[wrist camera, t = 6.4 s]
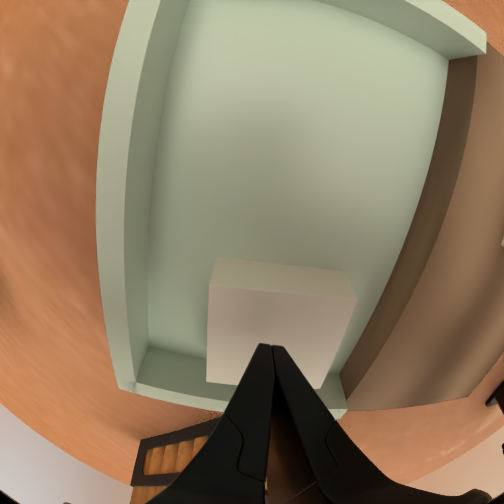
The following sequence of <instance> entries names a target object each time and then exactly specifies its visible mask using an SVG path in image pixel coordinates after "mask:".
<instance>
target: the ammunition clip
mask: <svg viewBox="0 0 504 504" xmlns="http://www.w3.org/2000/svg"><path fill="white" fill-rule="evenodd" d="M220 418H221V417H218V418H216V419H213V420H210V421H207V422H204V423H201V424H197V425H194V426H191V427H188V428H184V429H181V430H177V431H174V432H170V433H167V434H163V435H159V436H155V437H151V438H147V439H142V440H141V441H140V445H139V449H138V454H137V458H136V462H135V466H134V471H133V475H132V480H131V484H130V485H131V486H132V487H133V492H132V496H131V501H130V504H144V503H146V502H147V501H149V500H150V499H151V498H153V497H154V496H155V495H157V494H158V493H159V492H161V491H162V490H163V489H165V488H166V487H167V486H168V485H169V484H170V483H171V482H172V481H173V480H174V479H175V478H176V477H177V476H178V475H179V474H180V473H181V472H182V470H183V469H184V468H185V467H186V466H187V464H188V463H189V462H190V461H191V460H192V458H193V457H194V456H195V455H196V454H197V452H198V451H199V450H200V449H201V447H202V446H203V445H204V443H205V442H206V441H207V439H208V438H209V437H210V435H211V434H212V432H213V430H214V429H215V427H216V425H217V424H218V422H219V420H220Z"/></svg>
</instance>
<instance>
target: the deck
mask: <svg viewBox="0 0 504 504" xmlns="http://www.w3.org/2000/svg"><path fill="white" fill-rule="evenodd" d="M503 237H504V56H503V55H501V54H500V53H499V52H498V51H497V50H496V49H495V48H494V47H492V46H491V45H490V44H489V43H488V42H487V41H486V54H482V55H475V56H468V57H462V58H457V59H452V60H449V64H448V73H447V81H446V88H445V95H444V101H443V107H442V113H441V118H440V123H439V128H438V132H437V137H436V141H435V146H434V150H433V154H432V158H431V162H430V165H429V169H428V173H427V176H426V180H425V183H424V186H423V190H422V193H421V196H420V199H419V202H418V205H417V208H416V211H415V214H414V217H413V220H412V223H411V225H410V228H409V231H408V234H407V236H406V239H405V242H404V244H403V247H402V249H401V252H400V254H399V257H398V259H397V261H396V264H395V266H394V268H393V271H392V273H391V275H390V278H389V280H388V282H387V284H386V287H385V289H384V291H383V293H382V295H381V297H380V299H379V301H378V304H377V306H376V308H375V310H374V312H373V314H372V316H371V318H370V320H369V321H368V323H367V325H366V327H365V329H364V331H363V333H362V335H361V337H360V338H359V340H358V342H357V344H356V346H355V347H354V349H353V351H352V353H351V355H350V356H349V358H348V360H347V361H346V363H345V365H344V366H343V368H342V370H341V371H340V373H339V376H340V379H341V383H342V387H343V391H344V394H345V398H346V402H347V406H348V410H347V411H369V410H384V409H395V408H404V407H413V406H420V405H427V404H433V403H439V402H445V401H450V400H455V399H460V398H465V397H468V396H469V395H470V394H471V393H472V391H473V390H474V389H475V388H476V387H477V386H478V384H479V383H480V382H481V381H482V380H483V378H484V377H485V376H486V375H487V373H488V372H489V371H490V370H491V368H492V367H493V366H494V364H495V363H496V362H497V360H498V359H499V358H500V356H501V355H502V353H503V352H504V247H503V246H502V245H501V242H502V240H503Z"/></svg>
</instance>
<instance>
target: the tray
mask: <svg viewBox="0 0 504 504" xmlns="http://www.w3.org/2000/svg"><path fill="white" fill-rule="evenodd" d="M482 54H486V32H485V31H483V30H482V29H481V28H480V27H478V26H477V25H476V24H475V23H473V22H472V21H471V20H469V19H468V18H467V17H465V16H464V15H463V14H461V13H460V12H458V11H457V10H455V9H454V8H453V7H451V6H450V5H448V4H447V3H445V2H443V1H442V0H129V3H128V6H127V9H126V12H125V15H124V18H123V21H122V25H121V28H120V32H119V35H118V39H117V43H116V46H115V50H114V54H113V59H112V63H111V67H110V72H109V77H108V82H107V88H106V93H105V99H104V105H103V112H102V120H101V128H100V137H99V147H98V160H97V178H96V240H97V258H98V271H99V282H100V291H101V300H102V307H103V314H104V321H105V327H106V333H107V339H108V344H109V349H110V354H111V359H112V364H113V368H114V373H115V377H116V381H117V385H118V388H119V389H122V390H125V391H128V392H132V393H135V394H139V395H143V396H146V397H150V398H154V399H158V400H162V401H167V402H171V403H176V404H180V405H185V406H190V407H195V408H201V409H207V410H213V411H219V412H224V411H225V409H226V407H227V405H228V403H229V401H230V399H231V397H232V395H233V393H234V391H235V390H236V388H237V386H238V385H230V384H221V383H212V382H206V370H207V325H208V298H209V284H210V280H211V276H212V272H213V269H214V265H215V261H216V258H217V257H222V258H231V259H240V260H249V261H258V262H267V263H276V264H285V265H295V266H304V267H313V268H323V269H333V270H342V271H344V273H345V275H346V277H347V279H348V281H349V283H350V285H351V287H352V288H353V290H354V292H355V294H356V296H357V298H358V300H357V303H356V306H355V308H354V311H353V314H352V316H351V319H350V321H349V324H348V326H347V329H346V331H345V334H344V336H343V339H342V341H341V344H340V346H339V348H338V351H337V353H336V355H335V358H334V360H333V362H332V364H331V366H330V369H329V371H328V373H327V375H326V377H325V379H324V382H323V384H322V386H321V388H320V389H314V390H315V392H316V393H317V394H318V396H319V397H320V399H321V400H322V401H323V403H324V404H325V406H326V407H327V408H328V410H329V411H330V413H331V414H332V415H333V417H334V418H335V419H340V418H341V417H342V416H343V415H344V414H345V412H346V411H347V410H348V406H347V402H346V398H345V394H344V391H343V387H342V383H341V379H340V376H339V373H340V371H341V370H342V368H343V366H344V365H345V363H346V361H347V360H348V358H349V356H350V355H351V353H352V351H353V349H354V347H355V346H356V344H357V342H358V340H359V338H360V337H361V335H362V333H363V331H364V329H365V327H366V325H367V323H368V321H369V320H370V318H371V316H372V314H373V312H374V310H375V308H376V306H377V304H378V301H379V299H380V297H381V295H382V293H383V291H384V289H385V287H386V284H387V282H388V280H389V278H390V275H391V273H392V271H393V268H394V266H395V264H396V261H397V259H398V257H399V254H400V252H401V249H402V247H403V244H404V242H405V239H406V236H407V234H408V231H409V228H410V225H411V223H412V220H413V217H414V214H415V211H416V208H417V205H418V202H419V199H420V196H421V193H422V190H423V186H424V183H425V180H426V176H427V173H428V169H429V165H430V162H431V158H432V154H433V150H434V146H435V141H436V137H437V132H438V128H439V123H440V118H441V113H442V107H443V101H444V95H445V88H446V81H447V73H448V64H449V60H452V59H457V58H462V57H468V56H475V55H482Z"/></svg>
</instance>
